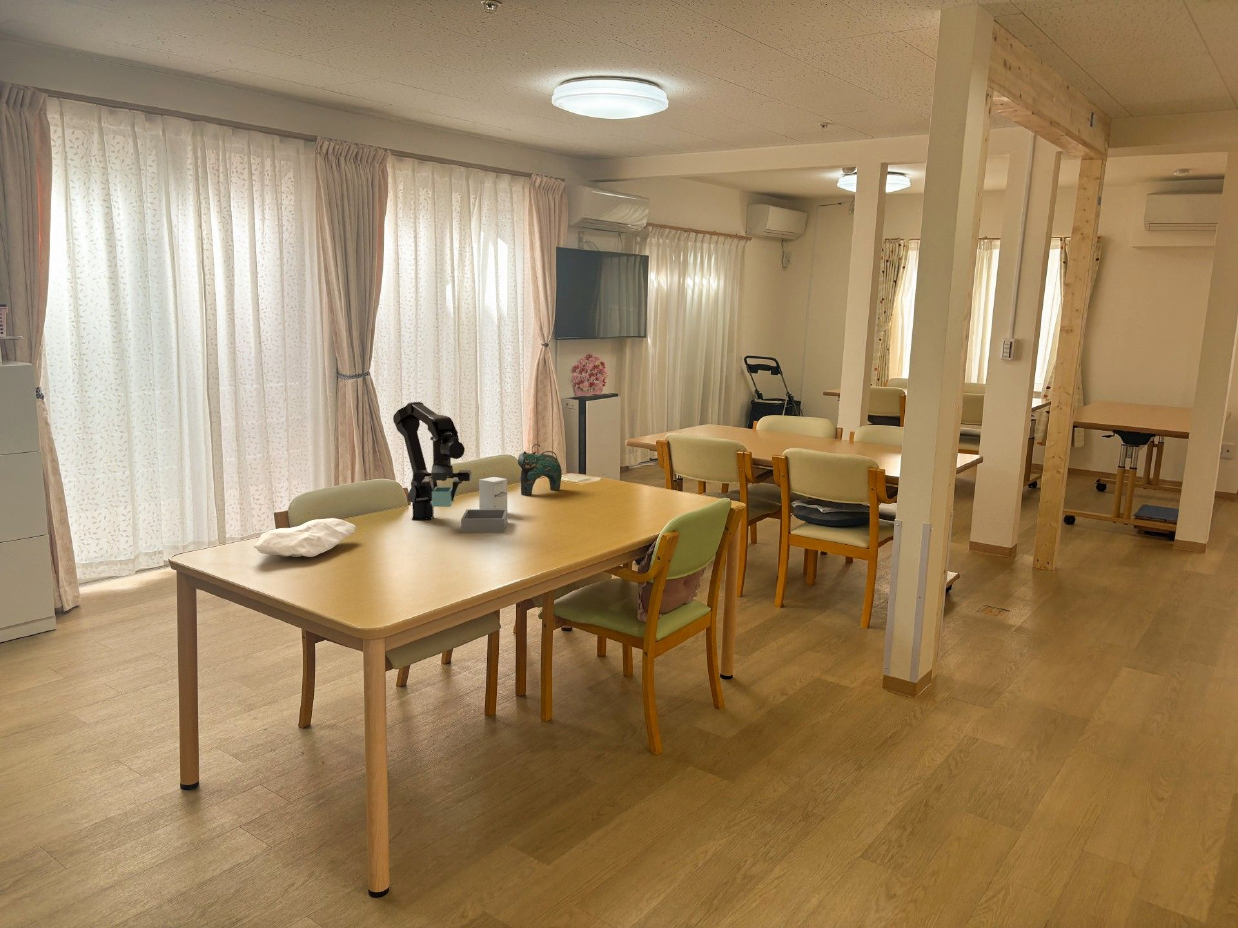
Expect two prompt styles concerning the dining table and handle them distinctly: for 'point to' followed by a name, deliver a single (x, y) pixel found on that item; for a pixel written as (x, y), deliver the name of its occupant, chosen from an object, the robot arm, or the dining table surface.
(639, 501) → the dining table surface
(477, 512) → the grey crate
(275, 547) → the crumpled cloth
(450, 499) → the teal crate
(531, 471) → the ceramic cat
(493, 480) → the supplement box
